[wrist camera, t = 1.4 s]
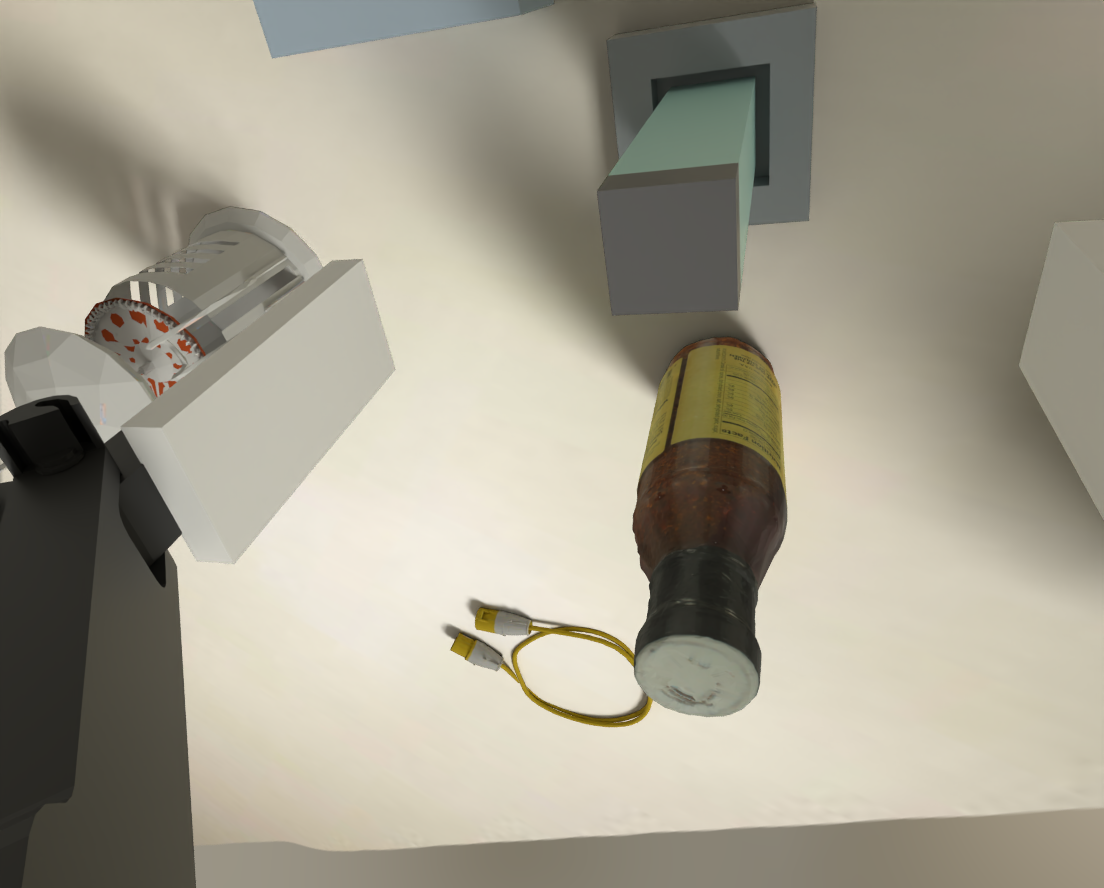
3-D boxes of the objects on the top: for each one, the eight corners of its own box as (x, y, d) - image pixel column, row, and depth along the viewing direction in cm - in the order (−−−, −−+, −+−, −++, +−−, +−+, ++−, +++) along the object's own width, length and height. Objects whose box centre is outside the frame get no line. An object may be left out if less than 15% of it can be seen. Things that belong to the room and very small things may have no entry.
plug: (755, 163, 32) (738, 310, 20) (676, 171, 33) (612, 315, 21) (755, 75, 30) (735, 178, 18) (670, 87, 31) (596, 191, 19)
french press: (155, 250, 44) (-361, 516, 24) (282, 159, 38) (-254, 408, 18) (261, 382, 47) (-108, 703, 28) (390, 317, 42) (43, 660, 22)
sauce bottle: (700, 446, 42) (649, 758, 26) (640, 362, 39) (547, 647, 24) (808, 399, 38) (825, 727, 23) (749, 305, 36) (723, 594, 20)
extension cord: (542, 564, 51) (535, 585, 50) (686, 693, 55) (683, 716, 54) (442, 623, 58) (433, 643, 57) (577, 734, 62) (571, 755, 61)
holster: (807, 206, 33) (808, 220, 31) (633, 220, 35) (626, 234, 34) (814, 2, 28) (816, 7, 27) (615, 34, 31) (606, 40, 29)
